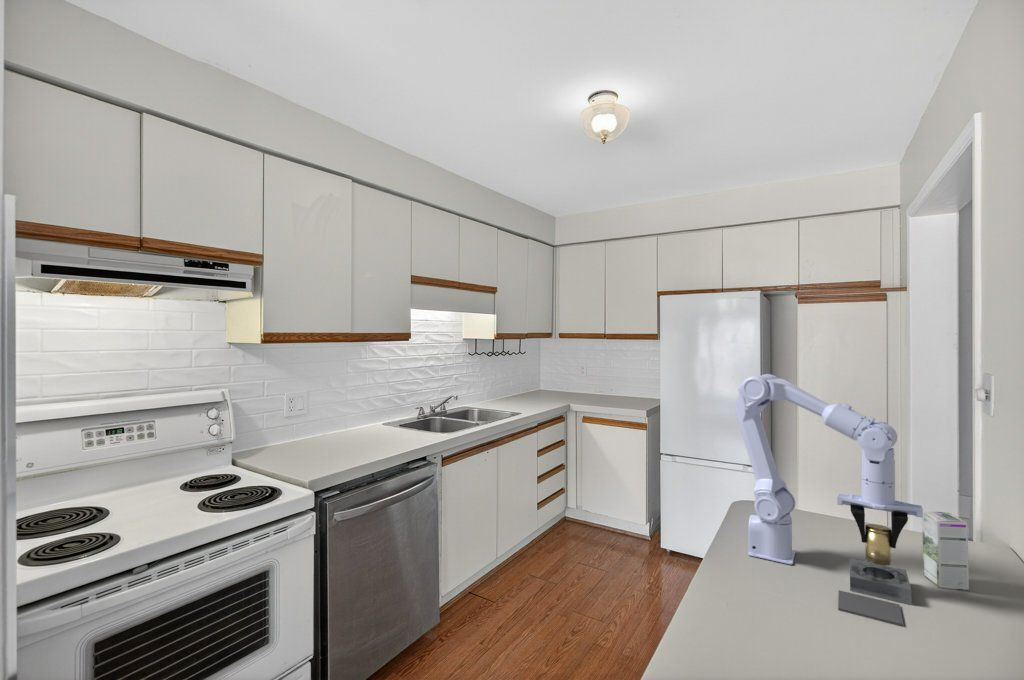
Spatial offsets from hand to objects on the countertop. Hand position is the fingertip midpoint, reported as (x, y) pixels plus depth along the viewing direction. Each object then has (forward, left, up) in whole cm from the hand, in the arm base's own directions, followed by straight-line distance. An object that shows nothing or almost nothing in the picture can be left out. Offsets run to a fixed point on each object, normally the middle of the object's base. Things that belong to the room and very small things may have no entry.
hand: (878, 543), depth 104 cm
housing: (0, 0, -9) cm, 9 cm away
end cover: (0, 0, -4) cm, 4 cm away
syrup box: (+12, +10, -10) cm, 18 cm away
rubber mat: (-2, -11, -9) cm, 15 cm away
